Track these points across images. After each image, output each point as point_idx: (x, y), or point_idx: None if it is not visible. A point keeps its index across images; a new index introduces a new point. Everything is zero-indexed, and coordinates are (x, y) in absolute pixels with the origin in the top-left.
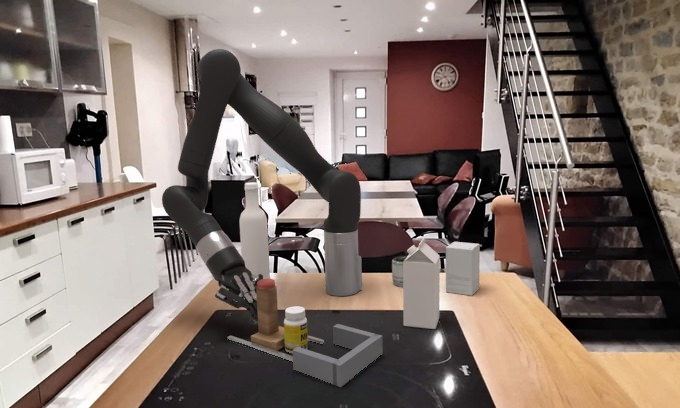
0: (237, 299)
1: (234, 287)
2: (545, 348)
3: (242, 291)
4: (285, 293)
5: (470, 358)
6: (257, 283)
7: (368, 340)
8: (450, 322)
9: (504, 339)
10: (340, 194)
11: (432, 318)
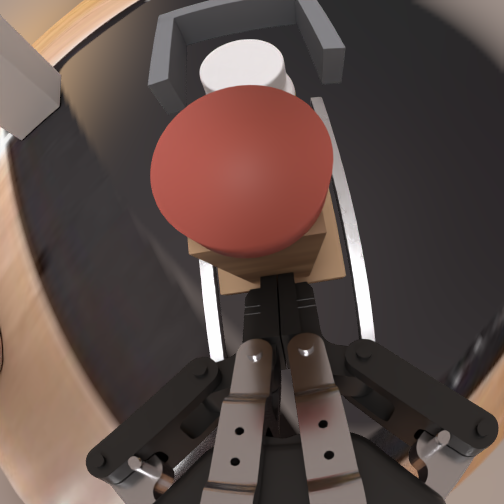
0: (397, 361)
1: (377, 457)
2: (82, 11)
3: (340, 403)
4: (54, 459)
5: (128, 8)
6: (316, 210)
7: (191, 10)
8: None
9: (70, 31)
10: None
11: (51, 67)
